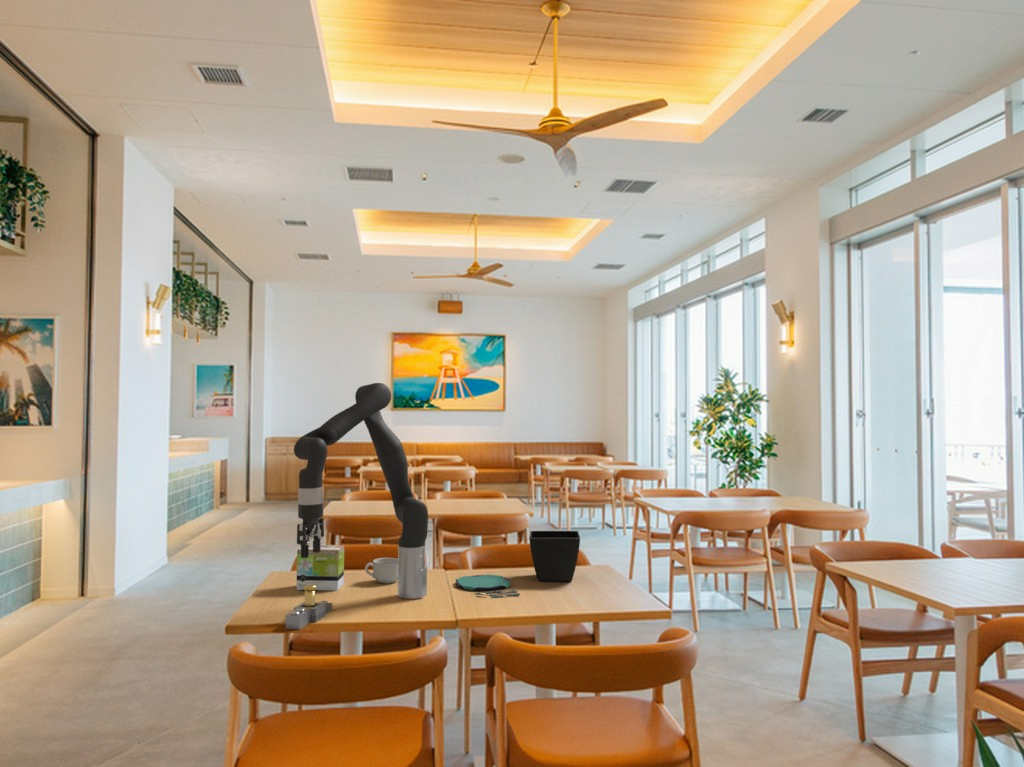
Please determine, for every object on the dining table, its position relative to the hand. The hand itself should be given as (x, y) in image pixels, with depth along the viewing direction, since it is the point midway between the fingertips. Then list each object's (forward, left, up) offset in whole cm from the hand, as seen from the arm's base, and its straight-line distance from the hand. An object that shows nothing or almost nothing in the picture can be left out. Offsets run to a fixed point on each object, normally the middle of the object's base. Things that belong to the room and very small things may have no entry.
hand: (310, 555), depth 236 cm
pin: (0, 0, -19) cm, 19 cm away
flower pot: (-67, -70, -20) cm, 99 cm away
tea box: (+14, -39, -20) cm, 46 cm away
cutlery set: (-45, -49, -20) cm, 69 cm away
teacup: (-5, -52, -20) cm, 56 cm away
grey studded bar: (0, 0, -19) cm, 19 cm away
